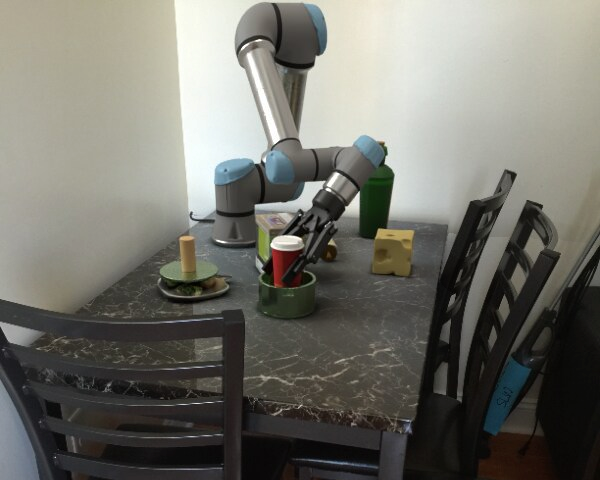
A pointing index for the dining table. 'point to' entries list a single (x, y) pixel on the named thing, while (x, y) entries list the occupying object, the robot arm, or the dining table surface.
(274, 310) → the pot
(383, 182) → the bottle
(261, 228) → the tea box
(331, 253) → the rolling pin
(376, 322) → the dining table surface
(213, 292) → the salad plate
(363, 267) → the dining table surface
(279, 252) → the paper cup
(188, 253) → the lid
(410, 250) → the cheese
